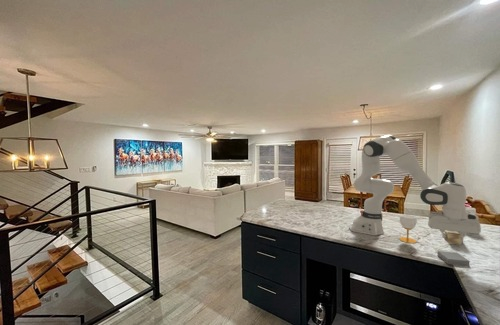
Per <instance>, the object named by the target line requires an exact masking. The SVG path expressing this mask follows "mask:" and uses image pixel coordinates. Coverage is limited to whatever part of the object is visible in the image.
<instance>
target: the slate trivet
mask: <svg viewBox="0 0 500 325" xmlns="http://www.w3.org/2000/svg"><path fill="white" fill-rule="evenodd" d="M437 256H438V257H439V258H440V259H441V260H443V261H444V262H445V263H446V264H447V265H456V266H469V267H470V260H469V259H467V258H466V257H464V256H463V255H461V254H460V253H459V252H455V251H454V252H453V251H442V250H437Z"/></svg>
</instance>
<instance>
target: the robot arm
mask: <svg viewBox="0 0 500 325" xmlns="http://www.w3.org/2000/svg"><path fill="white" fill-rule="evenodd" d="M384 154H385V155H387V156H388V157H389V158H390V159H391V161H392V162H393V163H394V165H395V166H396V167H397V168H398V169H399V170H400V171H403V172H405V173H408V174H409V175H410V176H411V177H412V178H413V179H414V180H415V182H417V184H418V185H419V187H420V188H421V192H420V196H419V197H420V199H421V201H422V202H423V203H425V204H426V205H430V206H441V207H442V208H441V211H430V212H428V216H427V217H428V222H427V225H428V227H429V228H430V229H433V230H439V231H440V233H441V234H442V235H441V236H442V238H443V239H444V238H447V235H446V234H445V230H449V231H457V232H461V233H462V234H461V240H463V241H464V238H465V237H466V236H467V234H478V235H479V234H480V233H481V231H482V230H481V228H482V226H481V222H480V220H479V216H478V215H475V214H473V213H470V212H467V211H466V208H465V207H466V205H465V204H466V202H467V191H466V188H465V186H464V185H463V184H460V183H457V182H453V181H452V182H451V181H445V182H444V183H441V184H436V183H435V182H434V181H432V179H430V177H429V176H428V175H427V173H426V171H424V169H423V168H422V166H421V164H420V162H419V160H418V158H417V156H416V155H415V153H414V152H413V151H412V149H411V148H410V147H409V146H408V145H407V143H405V142H404V141H403V140H401V139H398V138H396V136H394V135H392V134H384V135H381V136H379V137H376V138H373V139H371V140H369V141H367V142H366V143H364V145H363V148H362V152H361V167H362V168H361V171H362V172H361V175H360V176H359V177H357V178H356V179H355V180H354V182H353V187H354V190H356V191H358V192H361V193H366V194H372V195H373V196H372V197H369V198H366V199H365V200H364V202H363V205H364V206H363V208H364V209H363V210H362V209H360V211H359V212H360V216H358V217H356V218H354V219H353V221H352V223H351V224H350V225H349V227H348V228H349V230H350V231H351V232H354V233H358V234H365V235H370V236H378V235H383V234H384V233H385V231H384V228H383V227H384V226H383V222H382V221H383V213H382V209H383V202H384V200H385V199H386V198H387V197H388V196H390V195H391V194H393V192H394V190H395V185H394V183H393V182H392V181H391V180H388V179H385V178H383V179H382V178H373V177H375V176H376V175H378V174H379V173H381V159H380V156H383V155H384Z"/></svg>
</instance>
